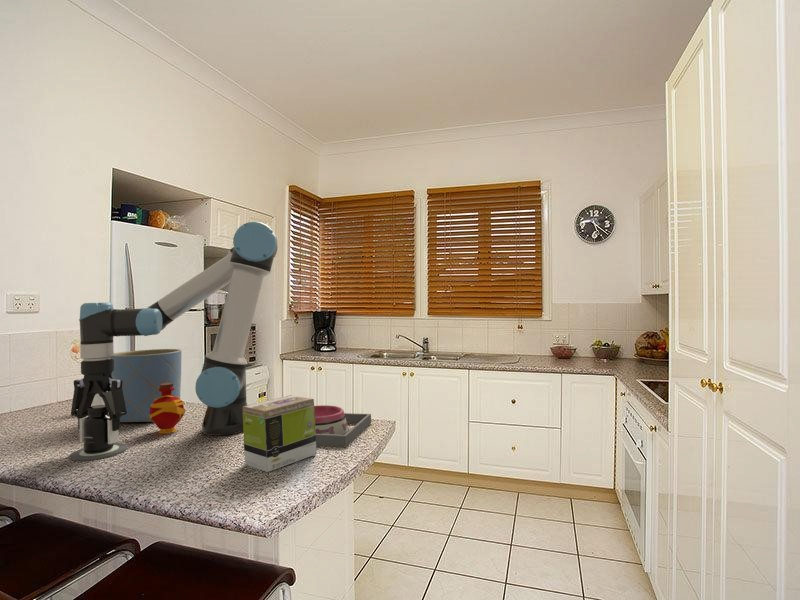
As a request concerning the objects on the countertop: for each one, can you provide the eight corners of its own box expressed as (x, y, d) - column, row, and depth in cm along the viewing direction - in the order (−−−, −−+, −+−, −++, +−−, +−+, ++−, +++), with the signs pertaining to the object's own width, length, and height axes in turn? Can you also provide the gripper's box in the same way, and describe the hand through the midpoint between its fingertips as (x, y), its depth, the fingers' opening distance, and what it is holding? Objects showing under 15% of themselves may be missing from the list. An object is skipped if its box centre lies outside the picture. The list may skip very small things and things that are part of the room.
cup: (113, 410, 174) (113, 381, 174) (94, 414, 168) (94, 384, 168) (105, 408, 177) (104, 380, 177) (86, 412, 172) (85, 383, 172)
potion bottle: (144, 437, 135) (143, 388, 135) (153, 428, 145) (152, 382, 145) (182, 434, 138) (181, 385, 138) (189, 425, 148) (188, 380, 148)
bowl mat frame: (371, 423, 145) (370, 413, 145) (346, 446, 121) (345, 435, 121) (302, 420, 150) (301, 411, 150) (265, 443, 127) (265, 432, 127)
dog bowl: (361, 429, 139) (360, 407, 139) (319, 446, 124) (318, 421, 124) (318, 421, 149) (317, 401, 149) (274, 436, 134) (273, 413, 134)
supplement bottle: (79, 456, 117) (78, 410, 117) (87, 448, 124) (86, 405, 124) (110, 452, 120) (109, 407, 120) (116, 445, 126) (115, 402, 126)
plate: (138, 446, 127) (138, 443, 127) (98, 462, 114) (98, 459, 114) (100, 444, 130) (100, 441, 130) (57, 459, 117) (57, 457, 117)
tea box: (293, 448, 121) (291, 393, 122) (317, 455, 115) (315, 398, 115) (243, 464, 110) (241, 404, 110) (266, 473, 103) (265, 409, 104)
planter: (136, 410, 173) (135, 349, 173) (194, 409, 172) (193, 348, 172) (94, 426, 150) (92, 356, 150) (160, 425, 149) (158, 355, 149)
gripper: (141, 357, 124) (143, 439, 123) (78, 357, 128) (79, 436, 128) (118, 360, 116) (120, 447, 116) (52, 360, 121) (54, 444, 121)
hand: (99, 441), depth 122 cm, fingers open, 8 cm apart
